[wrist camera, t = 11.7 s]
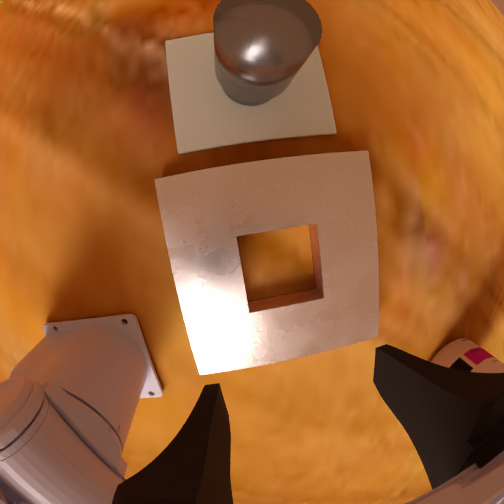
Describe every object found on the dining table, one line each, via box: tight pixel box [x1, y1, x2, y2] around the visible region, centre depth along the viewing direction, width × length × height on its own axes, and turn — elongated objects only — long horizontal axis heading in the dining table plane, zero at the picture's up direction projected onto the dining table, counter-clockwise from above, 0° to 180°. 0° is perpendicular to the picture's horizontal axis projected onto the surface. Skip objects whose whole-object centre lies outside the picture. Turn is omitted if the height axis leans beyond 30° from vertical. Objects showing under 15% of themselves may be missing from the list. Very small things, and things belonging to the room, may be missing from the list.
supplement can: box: [430, 338, 504, 373], centre depth 18 cm, size 8×8×15 cm
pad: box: [165, 32, 337, 154], centre depth 18 cm, size 11×9×1 cm
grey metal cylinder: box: [213, 0, 322, 106], centre depth 13 cm, size 5×5×8 cm
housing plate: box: [154, 151, 379, 375], centre depth 20 cm, size 14×14×2 cm
